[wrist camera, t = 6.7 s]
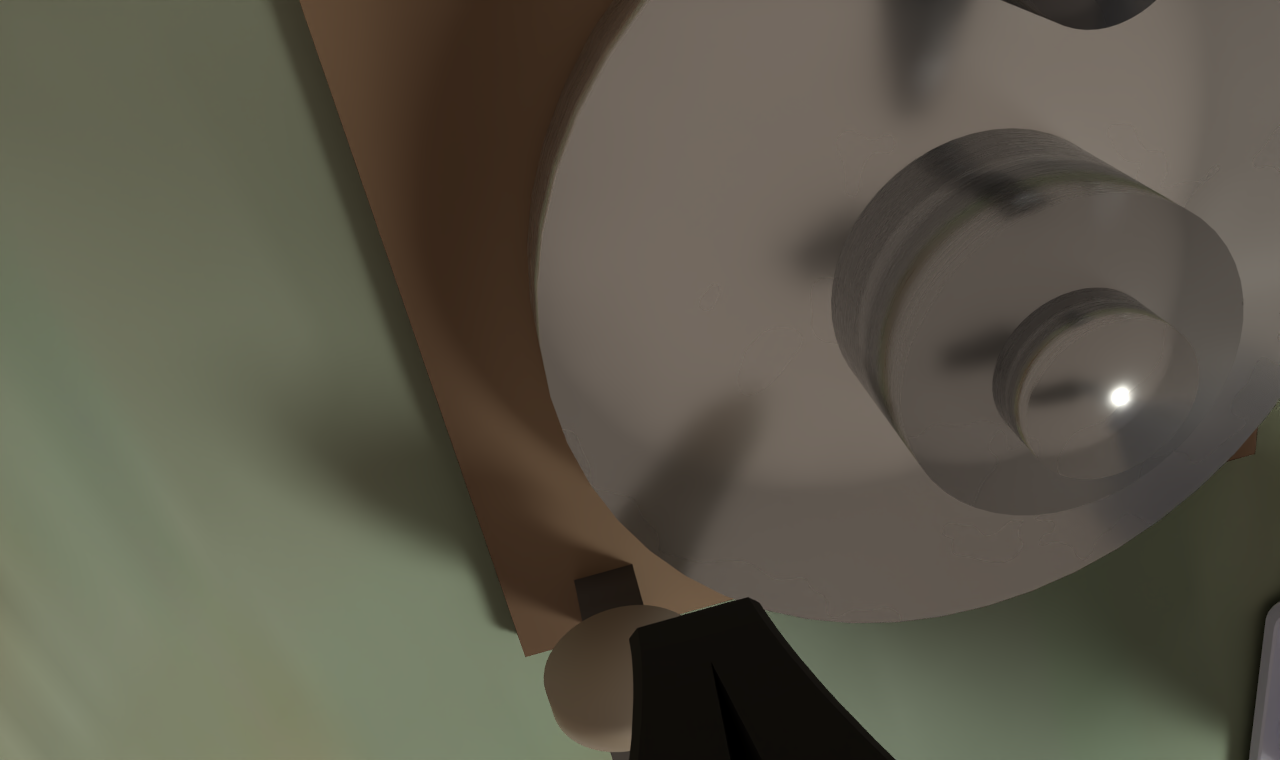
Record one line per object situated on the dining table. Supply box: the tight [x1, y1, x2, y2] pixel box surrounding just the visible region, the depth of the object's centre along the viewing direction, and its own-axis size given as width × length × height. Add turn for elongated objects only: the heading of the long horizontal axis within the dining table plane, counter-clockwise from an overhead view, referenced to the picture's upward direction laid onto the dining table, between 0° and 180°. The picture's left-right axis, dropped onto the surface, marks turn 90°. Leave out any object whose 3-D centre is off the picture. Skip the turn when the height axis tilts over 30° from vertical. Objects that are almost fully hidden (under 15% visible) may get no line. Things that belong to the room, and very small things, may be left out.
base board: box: [299, 0, 1258, 760], centre depth 18 cm, size 16×16×5 cm
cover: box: [831, 128, 1244, 515], centre depth 16 cm, size 5×5×4 cm
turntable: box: [527, 0, 1280, 623], centre depth 17 cm, size 14×14×6 cm
